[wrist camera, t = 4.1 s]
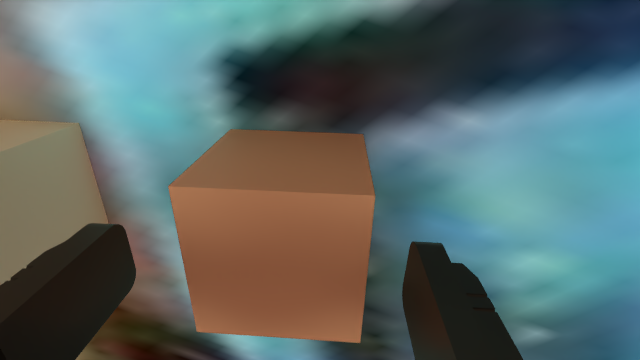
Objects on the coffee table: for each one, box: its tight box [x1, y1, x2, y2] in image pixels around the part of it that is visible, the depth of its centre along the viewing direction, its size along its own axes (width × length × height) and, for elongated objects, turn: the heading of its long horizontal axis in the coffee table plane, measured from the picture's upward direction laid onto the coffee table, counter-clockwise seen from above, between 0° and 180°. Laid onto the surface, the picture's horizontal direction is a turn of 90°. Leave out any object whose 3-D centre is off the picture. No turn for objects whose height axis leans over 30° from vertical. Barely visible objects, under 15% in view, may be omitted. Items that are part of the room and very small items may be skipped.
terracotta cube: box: [168, 129, 375, 343], centre depth 11 cm, size 5×5×5 cm
